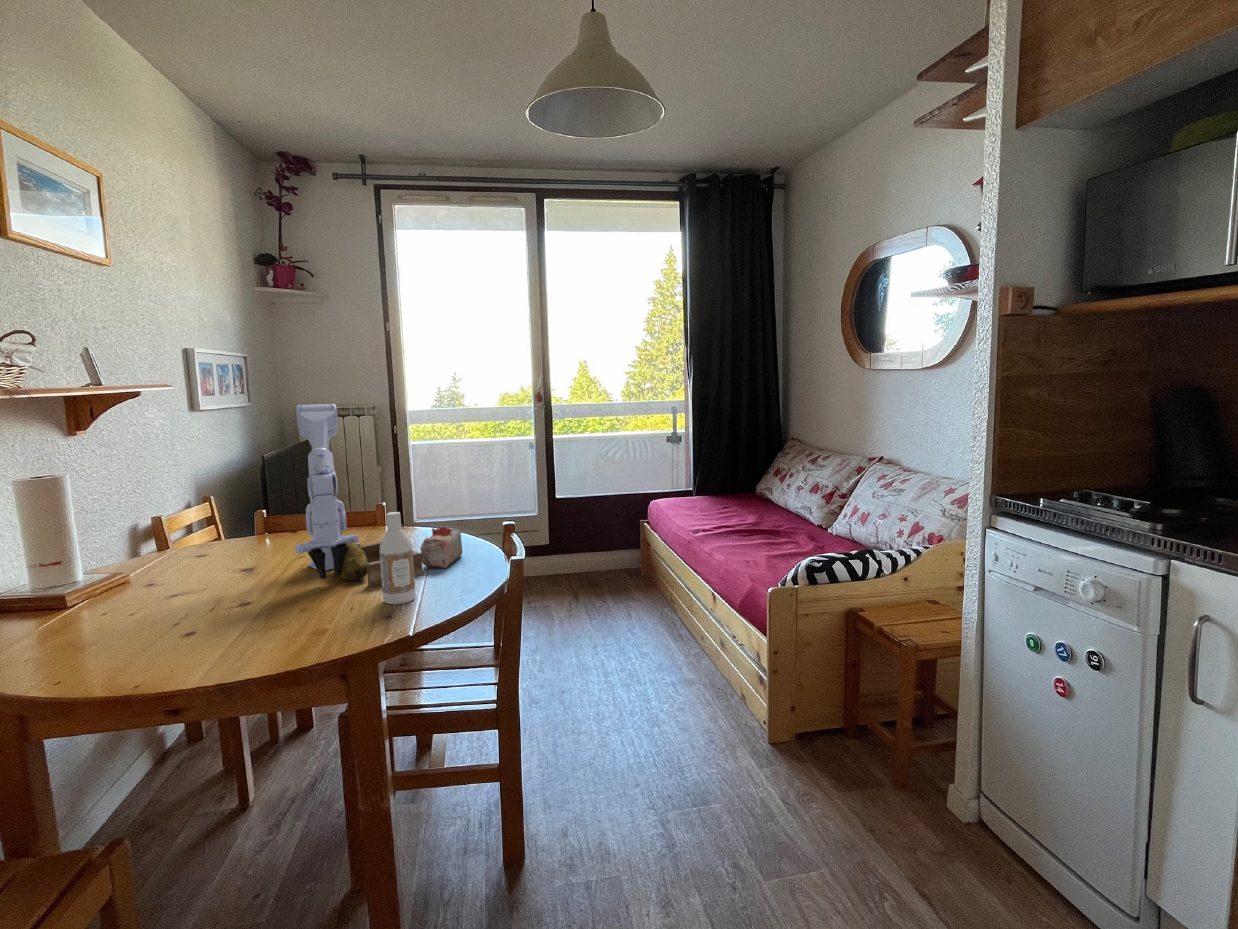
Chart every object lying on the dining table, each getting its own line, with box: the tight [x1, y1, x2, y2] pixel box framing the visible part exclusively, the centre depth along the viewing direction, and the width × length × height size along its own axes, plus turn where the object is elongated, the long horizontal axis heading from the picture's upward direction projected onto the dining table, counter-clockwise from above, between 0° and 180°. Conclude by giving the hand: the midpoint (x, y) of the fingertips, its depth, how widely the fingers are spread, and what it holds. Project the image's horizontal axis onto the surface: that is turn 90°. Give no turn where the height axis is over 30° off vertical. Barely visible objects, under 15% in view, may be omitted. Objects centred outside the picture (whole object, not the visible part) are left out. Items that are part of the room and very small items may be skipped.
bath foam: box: [380, 511, 416, 605], centre depth 145 cm, size 7×7×20 cm
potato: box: [339, 543, 368, 581], centre depth 165 cm, size 8×13×8 cm, turn 20°
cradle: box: [354, 541, 423, 588], centre depth 168 cm, size 21×14×6 cm, turn 47°
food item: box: [420, 526, 463, 569], centre depth 176 cm, size 14×8×10 cm, turn 176°
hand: (330, 576), depth 160 cm, fingers open, 3 cm apart
